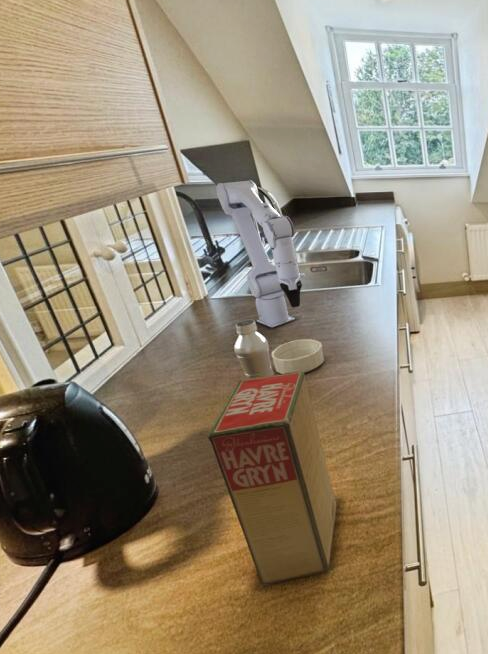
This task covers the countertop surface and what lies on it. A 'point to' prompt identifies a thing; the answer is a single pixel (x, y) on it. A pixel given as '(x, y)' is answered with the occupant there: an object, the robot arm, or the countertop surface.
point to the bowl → (297, 356)
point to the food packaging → (277, 476)
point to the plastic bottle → (252, 350)
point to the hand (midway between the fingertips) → (295, 306)
